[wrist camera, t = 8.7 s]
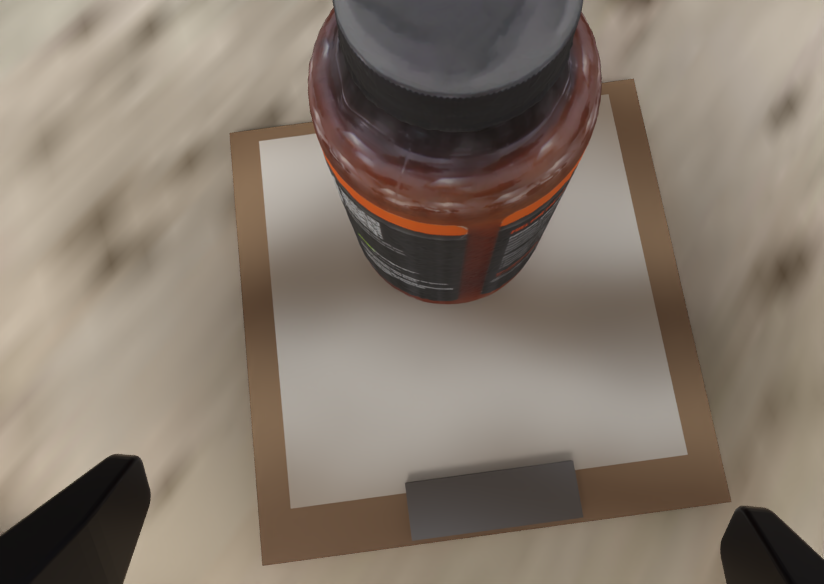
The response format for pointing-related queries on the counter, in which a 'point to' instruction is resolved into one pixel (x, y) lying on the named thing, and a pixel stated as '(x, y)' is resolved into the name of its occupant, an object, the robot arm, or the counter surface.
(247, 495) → the counter surface
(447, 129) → the supplement bottle
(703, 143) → the counter surface
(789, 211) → the counter surface
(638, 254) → the clipboard
